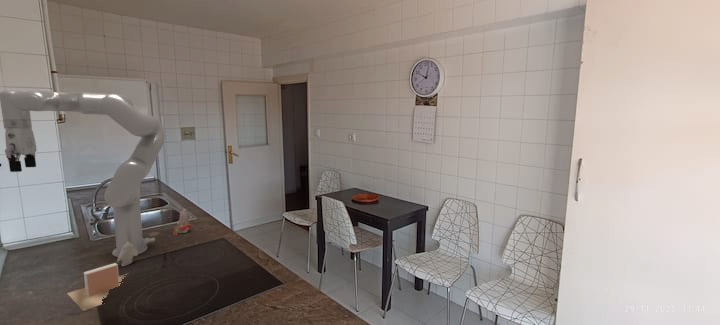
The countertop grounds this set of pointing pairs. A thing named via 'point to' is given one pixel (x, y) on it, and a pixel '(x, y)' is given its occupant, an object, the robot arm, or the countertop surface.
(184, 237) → the countertop surface
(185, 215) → the figurine
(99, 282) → the tile
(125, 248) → the arrowhead
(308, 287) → the countertop surface
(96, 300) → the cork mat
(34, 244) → the countertop surface
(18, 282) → the countertop surface
